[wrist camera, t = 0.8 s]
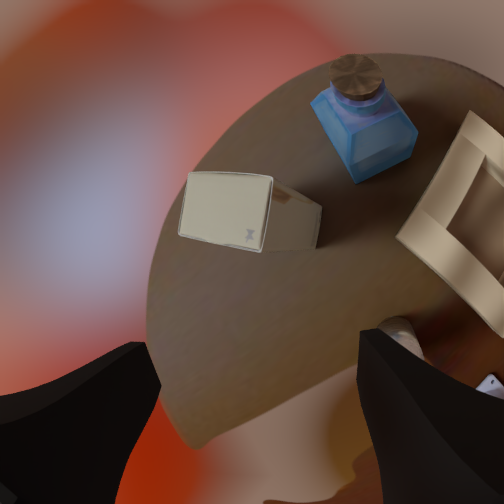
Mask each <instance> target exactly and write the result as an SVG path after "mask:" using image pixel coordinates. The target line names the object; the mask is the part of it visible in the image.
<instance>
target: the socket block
mask: <svg viewBox="0 0 504 504" xmlns="http://www.w3.org/2000/svg"><path fill="white" fill-rule="evenodd" d="M394 238H395V239H397V240H398V241H399V242H400V243H401V244H403V245H404V246H405V247H406V248H407V249H409V250H410V251H411V252H412V253H413V254H414V255H416V256H417V257H418V258H419V259H420V260H421V261H423V262H424V263H425V264H426V265H427V266H428V267H429V268H430V269H432V270H433V271H434V272H435V273H436V274H437V275H438V276H439V277H440V278H441V279H442V280H444V281H445V282H446V283H447V284H448V285H449V286H450V287H451V288H452V289H453V290H454V291H455V292H456V293H457V294H458V295H459V296H460V297H461V298H462V299H463V300H464V301H465V302H466V303H467V304H468V305H469V306H470V307H471V308H472V309H473V310H474V311H475V312H476V313H477V314H478V315H479V316H480V317H481V318H482V319H483V320H484V322H485V323H486V324H487V325H488V326H489V327H490V328H491V329H492V330H494V331H495V332H496V333H497V334H499V335H500V336H501V337H502V338H504V138H503V137H502V136H501V135H500V134H499V133H498V132H497V131H495V130H494V129H493V128H492V127H491V126H490V125H488V124H487V123H486V122H485V121H484V120H482V119H481V118H480V117H479V116H477V115H476V114H475V113H473V112H472V111H471V110H469V112H468V114H467V115H466V117H465V119H464V120H463V122H462V124H461V126H460V128H459V130H458V132H457V134H456V136H455V138H454V140H453V142H452V143H451V145H450V147H449V149H448V151H447V153H446V155H445V157H444V158H443V160H442V162H441V164H440V166H439V167H438V169H437V171H436V173H435V174H434V176H433V178H432V179H431V181H430V183H429V184H428V186H427V188H426V189H425V191H424V193H423V194H422V196H421V198H420V199H419V201H418V202H417V204H416V205H415V207H414V209H413V210H412V212H411V213H410V215H409V216H408V218H407V219H406V221H405V222H404V224H403V225H402V227H401V228H400V230H399V231H398V233H397V234H396V235H395V237H394Z"/></svg>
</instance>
